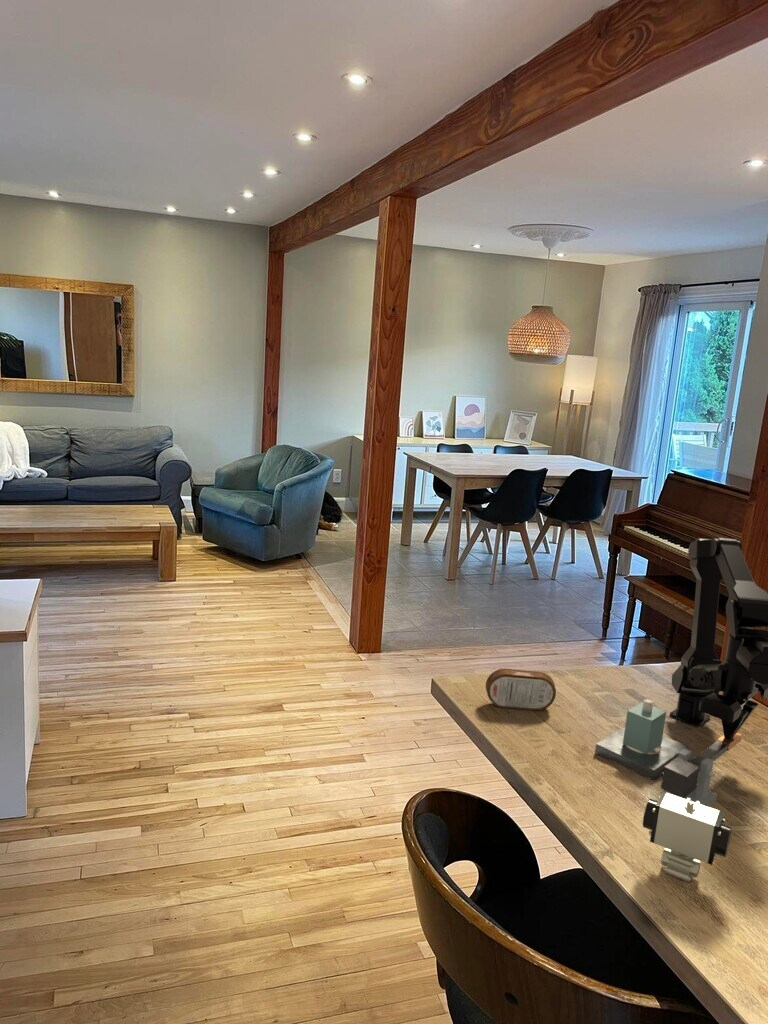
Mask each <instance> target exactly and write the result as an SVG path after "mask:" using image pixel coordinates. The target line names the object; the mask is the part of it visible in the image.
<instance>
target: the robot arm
mask: <svg viewBox="0 0 768 1024" xmlns="http://www.w3.org/2000/svg"><path fill="white" fill-rule="evenodd" d="M742 549H743V547H742V542H741V541H740V540H737V539H735V538H727V537H717V538H702V537H697V538H695V540H694V541H692V542H690V543H689V546H688V551H687V553H688V554H687V555H688V559H689V567H690V569H691V571H692V573H693V576H695V578H696V582H695V583H696V584H695V596H694V605H693V618H692V627H691V629H692V630H691V639H690V646H689V648H688V649H687V650H686V651H685V652H684V654H683V655H681V659H680V665H679V666H678V667H677V668H676V669H675V671H674V672H673V673H672V675H671V686H672V687H673V689H674V691H675V692H676V693H677V694H678V698H677V705H676V708H675V709H673V710H672V711H670V712H669V716H671V717H673V718H675V719H678V720H680V721H683V722H685V723H688V724H691V725H693V726H696V727H700V726H702V724H705V723H706V721H708V720H710V719H711V717H715V718H717V719H718V720H721V726H722V730H723V735H724V737H725V738H727V739H729V740H730V739H731V738H733V737H734V736H735V734H736V733H738V732H739V730H740V729H741V728H742V726H743V725H744V724H745V722H746V721H747V719H749V717H750V716H751V715H752V713H753V712H754V710H755V709H756V708H757V707H758V706H759V704H758V703H759V702H756V701H752V698H753V697H754V696H756V695H757V694H758V692H760V694H759V695H760V698H761V699H766V698H767V697H768V630H765V629H767V628H768V592H767V591H766V590H765V589H763V588H761V587H760V586H758V585H757V584H756V582H755V580H754V578H753V576H752V574H751V570H750V569H749V567H748V564H747V562H746V559H745V556H744V554H743V551H742ZM722 581H723V582H724V585H725V587H726V590H727V592H728V595H729V597H728V600H727V602H726V605H725V616H726V619H727V624H728V625H727V628H728V629H729V633H728V638H727V645H726V651H725V658H724V661H723V662H722V660H721V659H719V657H718V655H717V653H716V652H715V648H716V647H715V645H716V634H717V623H718V611H719V603H720V602H719V601H720V600H719V599H720V590H721V582H722ZM754 628H755V629H754ZM756 628H757V629H756ZM720 692H722V694H720Z"/></svg>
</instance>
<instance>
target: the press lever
mask: <svg viewBox="0 0 768 1024" xmlns="http://www.w3.org/2000/svg"><path fill="white" fill-rule="evenodd" d="M742 736H743V735H742V734H741V733H738V732H737V733H736V734H735V736H734V737H733V738H731V739H730V740H729V739H727V738H725V737H724V734H723V735H722V736H720V737H719V738H718V739H717V740H716V741H714V742H713V743H712V744H711V745H709V746H708V747H707V748H705V749H703V751H702V752H700V753H699V754H697V755H695V757H694V758H692V759H690V761H689V762H688V761H685V760H683V759H681V758H678V757H677V758H676V759H674V760H673V761H672V762H670V763H669V764H667V765H666V766H665V767H664V772H663V773H662V777H661V778H662V780H661V786H660V789H661V790H662V791H664V790H666V791H668V792H670V793H672V794H674V795H676V796H678V797H681V798H685V797H686V796H688V795H689V794H690V793H691V792H693V791H694V790H695V789H696V788H697V783H698V777H699V771H700V766H701V762H702V761H703V760H705V759H706V758H709V759H711V760H714V761H716V760H717V759H719V758H720V757H721V756H722V755H723V754H725V753H726V752H729V751H730V750H731V749H732V748H734V747H735V746H737V744H739V743H741V741H742Z"/></svg>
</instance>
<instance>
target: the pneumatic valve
mask: <svg viewBox="0 0 768 1024" xmlns="http://www.w3.org/2000/svg"><path fill="white" fill-rule="evenodd" d="M663 791H664V790H662V791H661V794H660V796H658V800H656V799H652V798H649V799H648V801H647V803H646V806H645V809H644V812H643V813H644V814H643V818H642V827H643V828H644V829H646V830H647V829H648V830H649V831H648V835H649V836H650V839H649V842H650V843H652V844H655V845H658V846H660V847H662V848H663V851H662V854H661V857H660V859H661V860H660V864H661V865H662V866H664V867H663V869H662V870H663V872H664V873H665V874H667V875H669V876H671V877H674V878H676V879H679V880H682V881H684V882H686V883H689V882H691V881H692V877H693V878H698V877H699V874H700V870H701V862H703V863H705V864H708V865H711V866H713V863H714V862H715V861H714V860H717V857H718V856H720V857H724V858H726V857H727V854H728V851H729V846H730V842H731V836H732V830H733V827H732V826H730V825H727V824H725V822H726V819H725V818H724V815H725V814H724V813H725V812H724V811H721V810H718V809H716V808H713V807H710V806H709V807H707V806H704V805H701V804H700V802H699V801H696V802H693V801H691V799H690V798H687V799H684V798H681V797H678V796H675V795H672V794H669V793H666V792H663Z"/></svg>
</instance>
